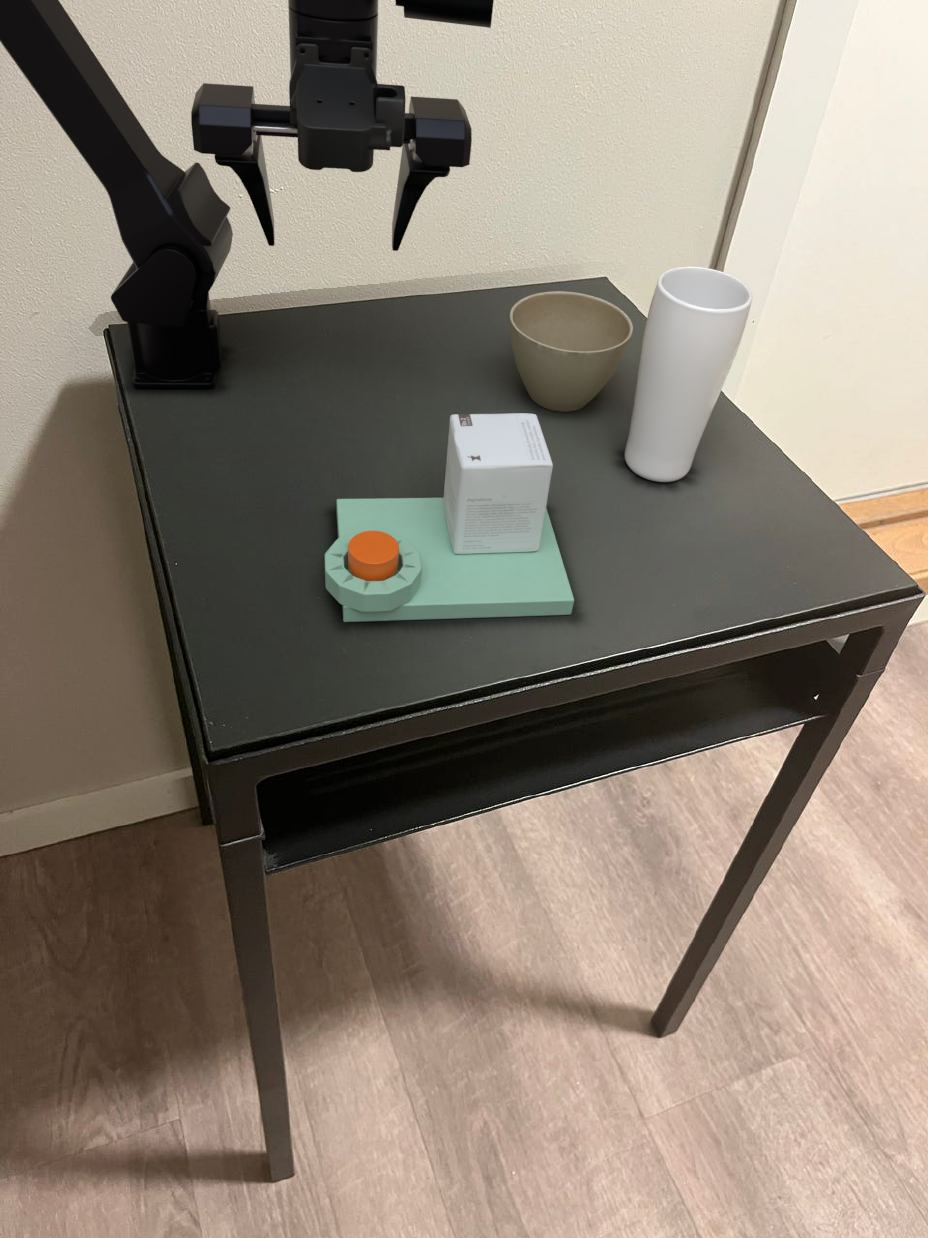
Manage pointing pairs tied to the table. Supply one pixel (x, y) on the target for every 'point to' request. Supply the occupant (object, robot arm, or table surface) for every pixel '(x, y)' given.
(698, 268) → the drinking glass
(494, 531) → the white cardboard box
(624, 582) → the table surface
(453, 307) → the table surface
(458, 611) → the scale
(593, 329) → the flower pot
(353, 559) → the button
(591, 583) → the table surface
